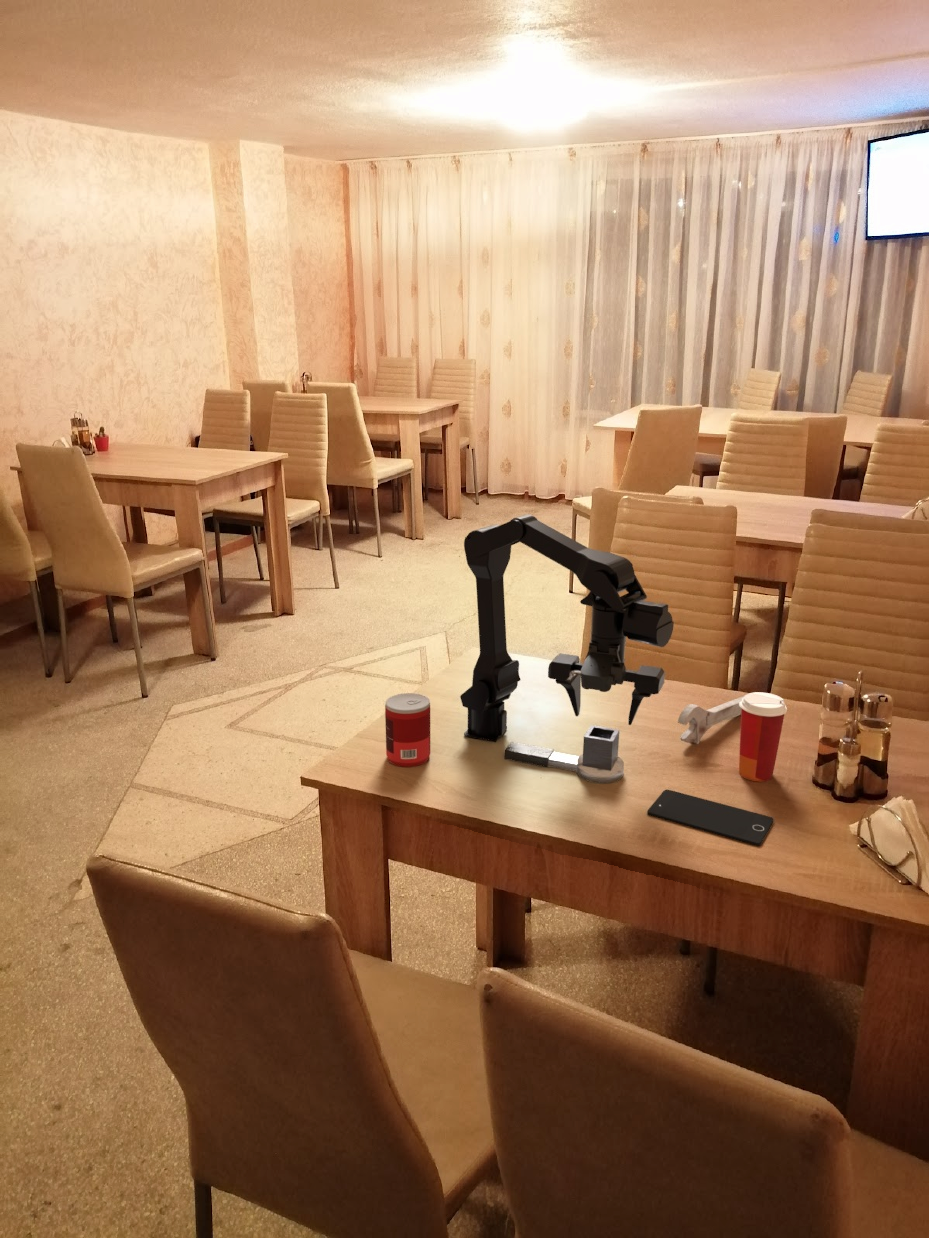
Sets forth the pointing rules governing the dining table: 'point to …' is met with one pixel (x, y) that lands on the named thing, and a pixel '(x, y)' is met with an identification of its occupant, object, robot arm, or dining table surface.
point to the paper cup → (760, 734)
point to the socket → (600, 747)
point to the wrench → (706, 718)
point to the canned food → (407, 729)
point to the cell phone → (711, 817)
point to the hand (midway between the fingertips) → (603, 719)
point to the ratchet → (562, 762)
